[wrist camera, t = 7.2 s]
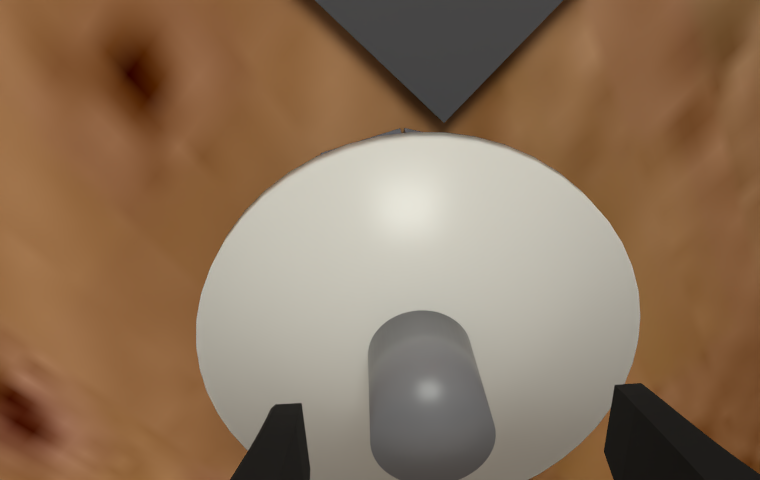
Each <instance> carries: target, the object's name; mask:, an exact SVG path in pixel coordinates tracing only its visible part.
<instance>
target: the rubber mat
mask: <svg viewBox="0 0 760 480" xmlns="http://www.w3.org/2000/svg"><path fill="white" fill-rule="evenodd" d="M315 1H316V2H317V3H318V4H319V5H320V6H321V7H322V8H323V9H324V10H326V11H327V12H328V13H329V14H330V15H331V16H332V17H333V18H334V19H335V20H336V21H337V22H338V23H339V24H340V25H341V26H342V27H343V28H345V29H346V30H347V31H348V32H349V33H350V34H351V35H352V36H353V37H354V38H355V39H356V40H357V41H358V42H359V43H360V44H361V45H362V46H363V47H365V48H366V49H367V50H368V51H369V52H370V53H371V54H372V55H373V56H374V57H375V58H376V59H377V60H378V61H379V62H380V63H381V64H382V65H384V66H385V67H386V68H387V69H388V70H389V71H390V72H391V73H392V74H393V75H394V76H395V77H396V78H397V79H398V80H399V81H400V82H401V83H402V84H404V85H405V86H406V87H407V88H408V89H409V90H410V91H411V92H412V93H413V94H414V95H415V96H416V97H417V98H418V99H419V100H420V101H421V102H423V103H424V104H425V105H426V106H427V107H428V108H429V109H430V110H431V111H432V112H433V113H434V114H435V115H436V116H437V117H438V118H439V119H440V120H442V121H443V122H444V123H445V121H446V120H447V119H448V118H449V117H450V116H451V115H452V114H453V113H454V112H455V111H456V110H457V109H458V108H459V107H460V106H461V105H462V104H463V103H464V102H465V101H466V100H467V99H468V98H469V97H470V96H471V95H472V94H473V93H474V92H475V91H476V90H477V89H478V88H479V86H480V85H481V84H482V83H483V82H484V81H485V80H486V79H487V78H488V77H489V76H490V75H491V74H492V73H493V72H494V71H495V70H496V69H497V68H498V67H499V66H500V65H501V64H502V63H503V62H504V61H505V60H506V59H507V58H508V57H509V56H510V55H511V54H512V52H513V51H514V50H515V49H516V48H517V47H518V46H519V45H520V44H521V43H522V42H523V41H524V40H525V39H526V38H527V37H528V36H529V35H530V34H531V33H532V32H533V31H534V30H535V29H536V28H537V27H538V26H539V25H540V24H541V23H542V22H543V21H544V20H545V19H546V17H547V16H548V15H549V14H550V13H551V12H552V11H553V10H554V9H555V8H556V7H557V6H558V5H559V4H560V3H561V2H562V1H563V0H315Z"/></svg>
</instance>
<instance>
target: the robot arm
mask: <svg viewBox="0 0 760 480" xmlns="http://www.w3.org/2000/svg"><path fill="white" fill-rule="evenodd" d="M604 453H605V456H606V459H607V462H608V465H609V467H610V470H611V473H612V476H613V479H614V480H760V474H758V473H757V472H756V471H754V470H753V469H751V468H750V467H748V466H747V465H746V464H744V463H743V462H741V461H740V460H739V459H737V458H736V457H734V456H733V455H732V454H730V453H729V452H728V451H726V450H725V449H724V448H722V447H721V446H720V445H718V444H717V443H716V442H714V441H713V440H712V439H711V438H709V437H708V436H707V435H705V434H704V433H703V432H702V431H700V430H699V429H698V428H696V427H695V426H694V425H693V424H691V423H690V422H689V421H688V420H686V419H685V418H684V417H683V416H681V415H680V414H679V413H678V412H677V411H675V410H674V409H673V408H672V407H670V406H669V405H668V404H667V403H665V402H664V401H663V400H662V399H660V398H659V397H658V396H657V395H655V394H654V393H653V392H652V391H650V390H649V389H648V388H647V387H645V386H644V385H643V384H641V383H637V384H620V385H615V386H614V392H613V398H612V404H611V411H610V417H609V423H608V430H607V436H606V442H605V448H604ZM230 480H310V462H309V455H308V447H307V440H306V432H305V425H304V417H303V410H302V403H291V404H275V405H274V406H273V407H272V408H271V409H270V411H269V413H268V416H267V418H266V419H265V421H264V423H263V425H262V427H261V429H260V431H259V433H258V435H257V436H256V438H255V440H254V442H253V443H252V445H251V447H250V449H249V450H248V452H247V454H246V455H245V457H244V458H243V460H242V462H241V463H240V465H239V466H238V468H237V470H236V471H235V473H234V474H233V476H232V477H231V479H230Z"/></svg>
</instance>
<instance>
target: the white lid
mask: <svg viewBox="0 0 760 480" xmlns="http://www.w3.org/2000/svg"><path fill="white" fill-rule="evenodd" d="M639 325H640V306H639V292H638V288H637V283H636V279H635V275H634V271H633V267H632V265H631V262H630V260H629V258H628V255H627V253H626V250H625V248H624V246H623V243H622V242H621V240H620V239H619V237H618V236H617V234H616V232H615V231H614V229H613V228H612V226H611V224H610V223H609V221H608V220H607V219H606V218H605V217H604V216H603V214H602V213H601V212H600V211H599V210H598V209H597V208H596V206H595V205H594V204H593V203H592V202H591V201H590V200H589V199H588V198H587V197H586V196H585V195H584V193H583V192H582V191H581V190H580V189H578V188H577V187H576V186H575V185H574V184H572V183H571V182H570V181H569V180H568V179H566V178H565V177H564V176H563V175H562V174H560V173H559V172H558V171H556V170H555V169H553V168H551V167H550V166H548V165H546V164H545V163H543V162H541V161H540V160H538V159H536V158H535V157H533V156H531V155H528V154H526V153H524V152H521V151H519V150H517V149H514V148H512V147H510V146H507V145H505V144H501V143H497V142H493V141H490V140H486V139H482V138H479V137H475V136H468V135H460V134H453V133H445V132H408V133H400V134H392V135H384V136H377V137H374V138H370V139H366V140H362V141H358V142H354V143H350V144H347V145H344V146H342V147H339V148H337V149H334V150H332V151H329V152H327V153H324V154H322V155H319V156H317V157H315V158H313V159H311V160H310V161H308V162H306V163H304V164H303V165H301V166H299V167H297V168H296V169H294V170H292V171H290V172H289V173H287V174H286V175H285V176H283V177H282V178H281V179H280V180H278V181H277V182H276V183H274V184H273V185H272V186H270V187H269V188H268V189H266V190H265V191H264V192H263V193H262V194H261V195H260V196H259V197H258V198H257V199H256V200H255V201H254V202H253V203H252V204H251V205H250V206H249V207H248V208H247V209H246V210H245V211H244V213H243V214H242V215H241V217H240V218H239V219H238V221H237V222H236V224H235V225H234V226H233V228H232V229H231V230H230V232H229V233H228V235H227V237H226V238H225V240H224V242H223V244H222V246H221V248H220V250H219V252H218V254H217V255H216V257H215V259H214V262H213V264H212V266H211V268H210V270H209V273H208V276H207V279H206V282H205V285H204V287H203V290H202V293H201V297H200V303H199V309H198V314H197V320H196V347H197V354H198V360H199V367H200V371H201V374H202V377H203V381H204V384H205V387H206V390H207V393H208V395H209V397H210V399H211V401H212V403H213V405H214V407H215V409H216V411H217V413H218V414H219V416H220V417H221V419H222V420H223V422H224V423H225V425H226V426H227V427H228V429H229V430H230V432H231V433H232V434H233V435H234V436H235V437H236V438H237V440H238V441H239V442H240V443H241V444H242V445H243V446H244V447H245V448H246V449H247V450H249V449H250V447H251V445H252V443H253V442H254V440H255V438H256V436H257V435H258V433H259V431H260V429H261V427H262V425H263V423H264V421H265V419H266V418H267V416H268V413H269V411H270V409H271V408H272V407H273V406H274V405H275V404H291V403H302V410H303V417H304V425H305V432H306V440H307V447H308V455H309V462H310V480H528V479H530V478H532V477H534V476H536V475H538V474H540V473H542V472H543V471H545V470H546V469H548V468H549V467H551V466H552V465H554V464H555V463H556V462H558V461H559V460H561V459H562V458H564V457H565V456H566V455H567V454H568V453H570V452H571V451H572V450H573V449H574V448H575V447H577V446H578V445H579V444H580V443H581V442H582V441H583V440H584V439H585V438H586V437H587V436H588V435H589V434H590V433H591V432H592V431H593V430H594V429H595V428H596V427H597V425H598V424H599V423H600V421H601V420H602V419H603V417H604V416H605V415H606V413H607V412H608V411H609V409H610V408H611V404H612V398H613V392H614V386H615V385H620V384H624V383H625V381H626V378H627V376H628V373H629V371H630V368H631V366H632V363H633V359H634V355H635V351H636V347H637V343H638V336H639Z"/></svg>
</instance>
